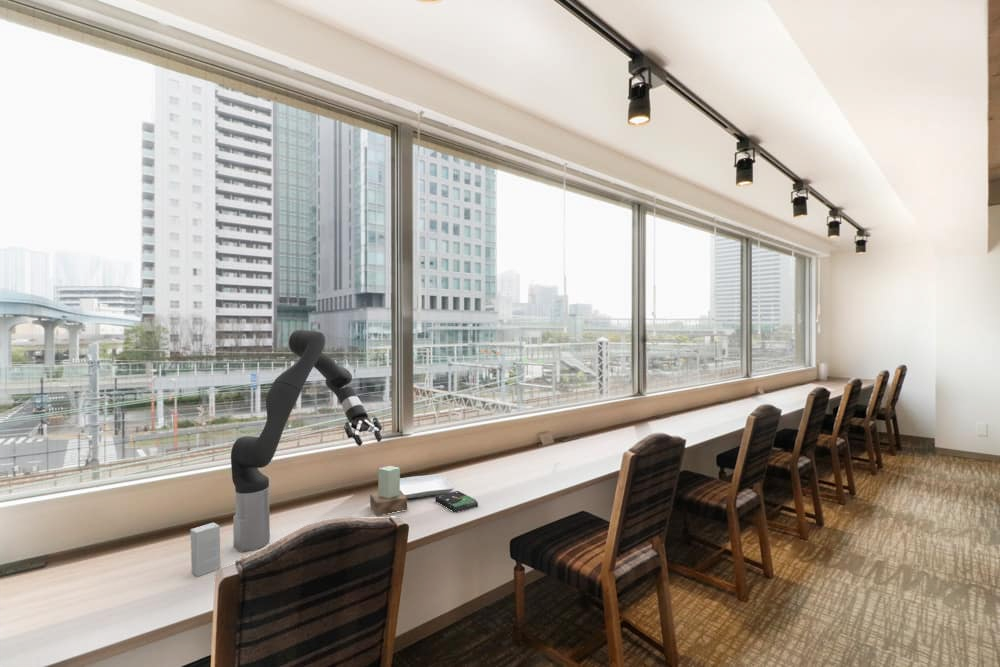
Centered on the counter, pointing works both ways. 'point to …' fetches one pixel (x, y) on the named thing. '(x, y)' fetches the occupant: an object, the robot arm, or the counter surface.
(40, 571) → the counter surface
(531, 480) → the counter surface
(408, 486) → the salad plate
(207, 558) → the skincare box
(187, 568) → the counter surface
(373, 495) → the walnut block
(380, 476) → the sage block
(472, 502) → the disk drive
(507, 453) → the counter surface
